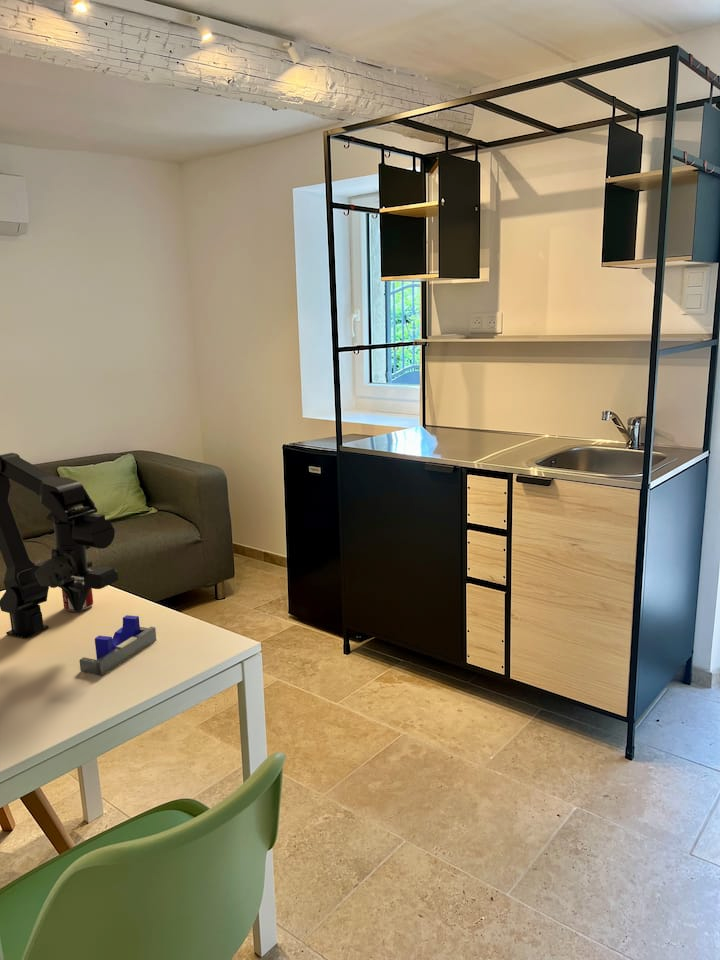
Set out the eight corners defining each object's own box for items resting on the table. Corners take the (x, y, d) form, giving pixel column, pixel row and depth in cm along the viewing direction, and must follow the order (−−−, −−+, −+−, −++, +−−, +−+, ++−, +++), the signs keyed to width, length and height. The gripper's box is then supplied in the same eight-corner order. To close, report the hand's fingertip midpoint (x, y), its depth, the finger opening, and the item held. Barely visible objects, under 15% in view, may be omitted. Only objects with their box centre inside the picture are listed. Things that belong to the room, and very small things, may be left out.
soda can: (87, 613, 176) (82, 565, 173) (59, 613, 176) (54, 566, 173) (97, 602, 183) (92, 556, 180) (70, 602, 183) (65, 557, 180)
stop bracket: (80, 671, 147) (78, 656, 147) (136, 636, 163) (135, 622, 162) (101, 675, 145) (100, 660, 144) (156, 640, 161) (155, 626, 160)
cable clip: (122, 639, 162) (120, 614, 160) (141, 641, 161) (138, 616, 159) (91, 665, 150) (88, 638, 149) (110, 667, 149) (107, 639, 148)
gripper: (5, 548, 149) (15, 619, 152) (77, 558, 142) (85, 633, 145) (47, 533, 159) (55, 600, 162) (116, 541, 152) (123, 611, 155)
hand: (78, 611), depth 156 cm, fingers closed
